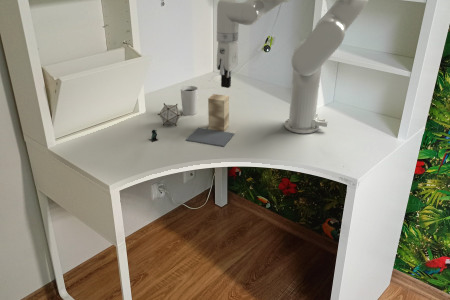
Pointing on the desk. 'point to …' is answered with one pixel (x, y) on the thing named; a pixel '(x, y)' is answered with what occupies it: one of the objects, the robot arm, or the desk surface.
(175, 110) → the game die
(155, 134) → the sculpture
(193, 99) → the white and black cylinder
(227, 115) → the maple block
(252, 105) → the desk surface
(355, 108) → the desk surface
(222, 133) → the slate mat
